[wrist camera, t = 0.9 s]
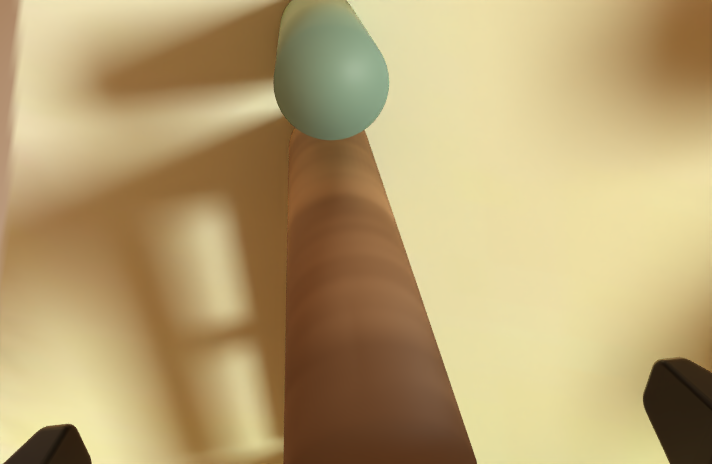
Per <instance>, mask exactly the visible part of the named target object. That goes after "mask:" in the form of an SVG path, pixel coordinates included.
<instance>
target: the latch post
mask: <svg viewBox="0 0 712 464" xmlns="http://www.w3.org/2000/svg"><path fill="white" fill-rule="evenodd" d="M388 90H389V75H388V69H387V65H386V63H385V60H384V58H383V56H382V54H381V52H380V50H379V49H378V47H377V46H376V44H375V43H374V41H373V40H372V38H371V37H370V35H369V33H368V32H367V30H366V29H365V27H364V26H363V24H362V23H361V21H360V20H359V18H358V17H357V15H356V13H355V12H354V10H353V9H352V7H351V6H350V4H349V3H348V2H347V1H346V0H291V1H290V2H289V4H288V5H287V7H286V8H285V10H284V12H283V14H282V17H281V22H280V29H279V37H278V46H277V54H276V63H275V71H274V92H275V97H276V100H277V104H278V106H279V108H280V110H281V112H282V113H283V115H284V116H285V118H286V119H287V120H288V121H289V122H290V123H291V124H292V125H293V126H294V127H295V128H296V129H298V130H299V131H301V132H302V133H304V134H306V135H308V136H311V137H313V138H317V139H321V140H340V139H345V138H349V137H351V136H354V135H356V134H358V133H360V132H362V131H363V130H365V129H366V128H367V127H368V126H370V125H371V124H372V123H373V122H374V120H375V119H376V118H377V117H378V115H379V114H380V112H381V111H382V109H383V107H384V104H385V102H386V99H387V95H388Z"/></svg>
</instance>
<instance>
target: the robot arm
mask: <svg viewBox="0 0 712 464" xmlns="http://www.w3.org/2000/svg"><path fill="white" fill-rule="evenodd" d="M643 404H644V408H645V410H646V413H647V415H648V417H649V419H650V422H651V424H652V426H653V428H654V430H655V432H656V435H657V437H658V439H659V441H660V443H661V445H662V447H663V450H664V452H665V454H666V456H667V458H668V460H669V463H670V464H712V373H711V372H710V371H708V370H706V369H704V368H702V367H701V366H699V365H697V364H695V363H694V362H692V361H690V360H688V359H685V358H681V357H677V358H667V359H660V360H657V361H656V362H655V363H654V365H653V367H652V370H651V373H650V376H649V379H648V382H647V385H646V387H645V390H644V394H643ZM4 464H92V463H91V458H90V455H89V453H88V451H87V449H86V447H85V445H84V443H83V441H82V438H81V436H80V434H79V432H78V430H77V428H76V427H75V426H73V425H72V424H62V425H53V426H46V427H44V428H42V429H40V430H39V431H38V432H36V433H35V434H34V435H33V436H32V437H31V438H30V439H29V440H28V441H27V442H26V443H25V444H24V445H23V446H22V447H20V448H19V449H18V450H17V451H16V452H15V453H14V454H13V455H12V456H11V457H10V458H9V459H8V460H7V461H6V462H5V463H4Z"/></svg>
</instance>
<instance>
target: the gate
mask: <svg viewBox="0 0 712 464" xmlns="http://www.w3.org/2000/svg"><path fill="white" fill-rule="evenodd" d="M284 464H477V462H476V458H475V455H474V452H473V449H472V446H471V443H470V440H469V437H468V434H467V431H466V428H465V426H464V423H463V420H462V417H461V414H460V411H459V408H458V405H457V402H456V399H455V396H454V393H453V390H452V387H451V384H450V381H449V378H448V375H447V372H446V369H445V366H444V363H443V360H442V357H441V354H440V351H439V349H438V346H437V343H436V340H435V337H434V334H433V331H432V328H431V325H430V322H429V319H428V316H427V313H426V310H425V307H424V304H423V301H422V298H421V295H420V292H419V289H418V286H417V283H416V280H415V277H414V274H413V272H412V269H411V266H410V263H409V260H408V257H407V254H406V251H405V248H404V245H403V242H402V239H401V236H400V233H399V230H398V227H397V224H396V221H395V218H394V215H393V212H392V209H391V206H390V203H389V200H388V197H387V195H386V192H385V189H384V186H383V183H382V180H381V177H380V174H379V171H378V168H377V165H376V162H375V159H374V156H373V153H372V150H371V147H370V144H369V141H368V138H367V135H366V133H365V131H364V130H363V131H362V132H360V133H358V134H356V135H354V136H351V137H349V138H345V139H340V140H321V139H317V138H313V137H311V136H308V135H306V134H304V133H302V132H301V131H299V130H298V129H296V128H294V130H293V132H292V135H291V137H290V141H289V172H288V232H287V292H286V352H285V412H284Z"/></svg>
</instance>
